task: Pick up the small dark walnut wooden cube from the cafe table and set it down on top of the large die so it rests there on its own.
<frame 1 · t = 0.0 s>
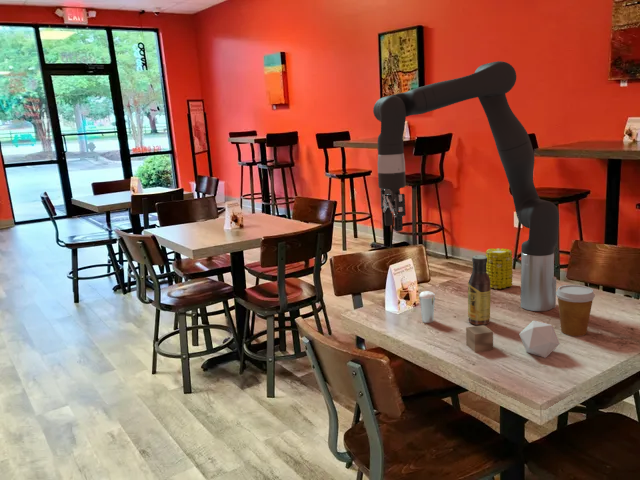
hand: (393, 228, 157), 29 cm above the table, tool pointing down, fingers open, 8 cm apart
milkshake: (429, 321, 165), on the table
sauce bottle: (479, 323, 161), on the table
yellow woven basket: (498, 286, 193), on the table
disposable coffee cup: (573, 332, 150), on the table
die: (538, 353, 139), on the table
walnut cube: (479, 347, 145), on the table
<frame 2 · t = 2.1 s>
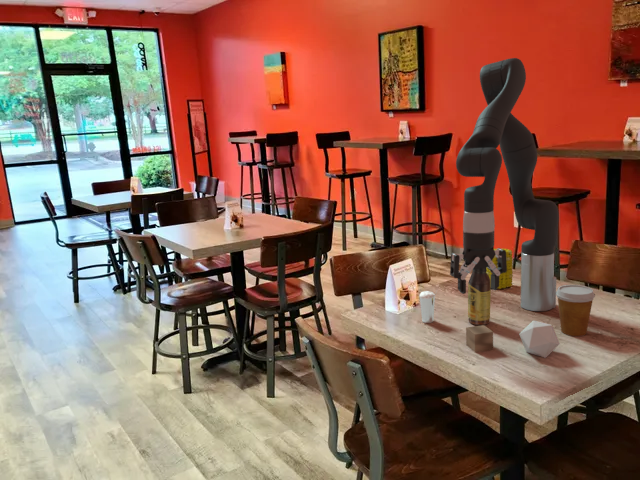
hand: (478, 291, 141), 15 cm above the table, tool pointing down, fingers open, 8 cm apart
nothing on the table moved.
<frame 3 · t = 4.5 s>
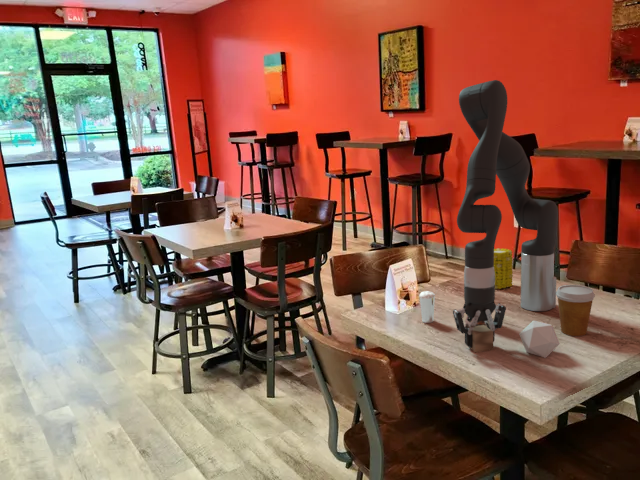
hand: (479, 344, 144), 1 cm above the table, tool pointing down, fingers closed on walnut cube, 5 cm apart
walnut cube: (479, 347, 144), on the table, touching gripper
everything else where it was.
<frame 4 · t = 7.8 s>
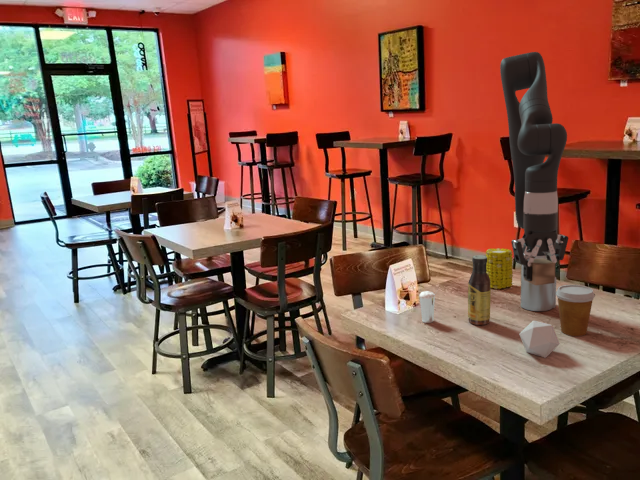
hand: (539, 278, 135), 19 cm above the table, tool pointing down, fingers closed on walnut cube, 5 cm apart
walnut cube: (539, 281, 135), point 19 cm above the table, touching gripper
everything else where it was.
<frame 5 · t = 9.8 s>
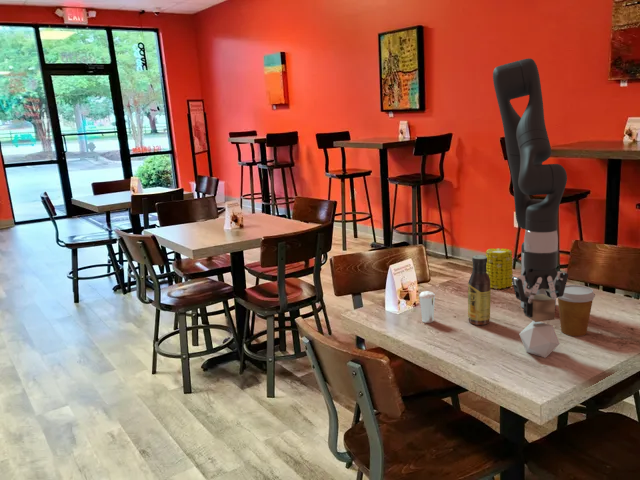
hand: (539, 314, 137), 10 cm above the table, tool pointing down, fingers closed on walnut cube, 5 cm apart
walnut cube: (539, 317, 137), point 9 cm above the table, touching gripper
everything else where it was.
when the fingers open (9 cm above the table, at t = 11.2 s): walnut cube drops 1 cm, resting on die.
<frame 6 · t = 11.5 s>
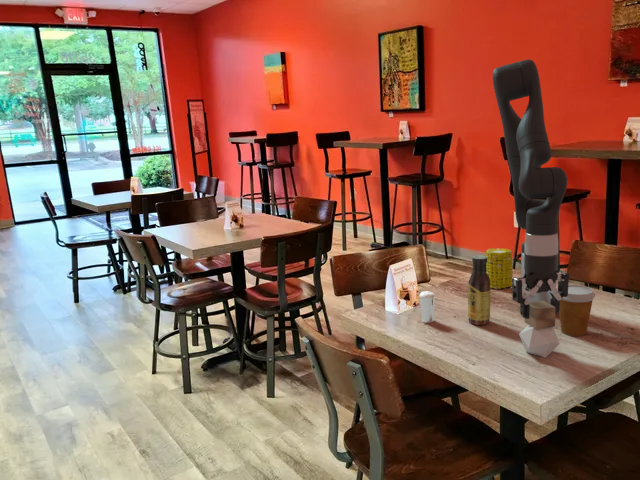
hand: (539, 315, 137), 10 cm above the table, tool pointing down, fingers open, 7 cm apart
die: (538, 353, 139), on the table, touching walnut cube
walnut cube: (539, 324, 137), point 8 cm above the table, touching die
everything else where it was.
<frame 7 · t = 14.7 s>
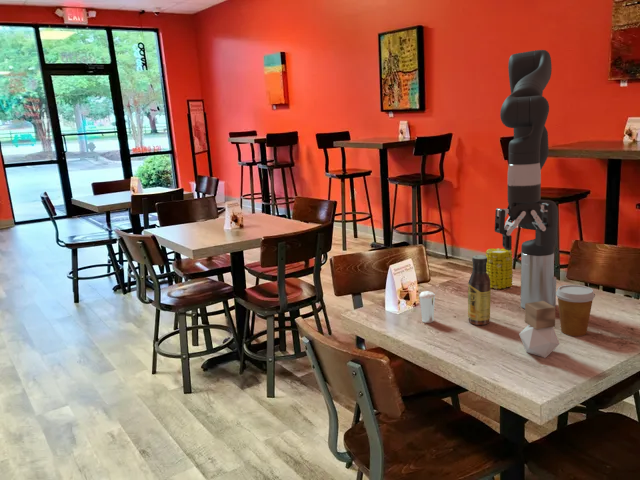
hand: (523, 247, 137), 27 cm above the table, tool pointing down, fingers open, 8 cm apart
nothing on the table moved.
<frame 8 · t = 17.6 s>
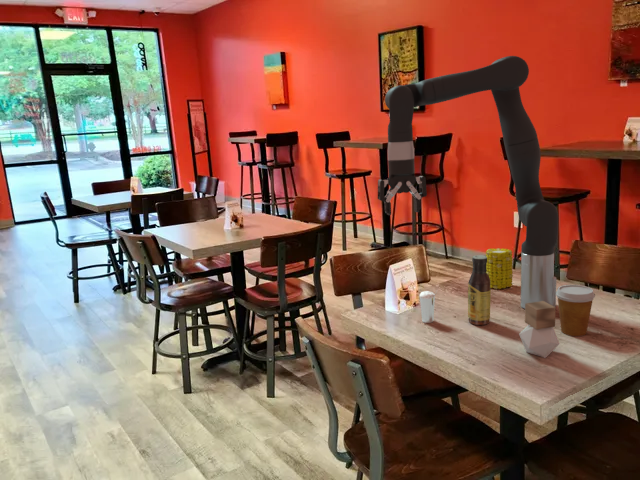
hand: (402, 213, 163), 32 cm above the table, tool pointing down, fingers open, 8 cm apart
nothing on the table moved.
at the end: walnut cube inside the target area on the die (0.1 cm from its centre), point 7.8 cm above the die's base; walnut cube tilted 0°; the gripper is holding nothing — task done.
